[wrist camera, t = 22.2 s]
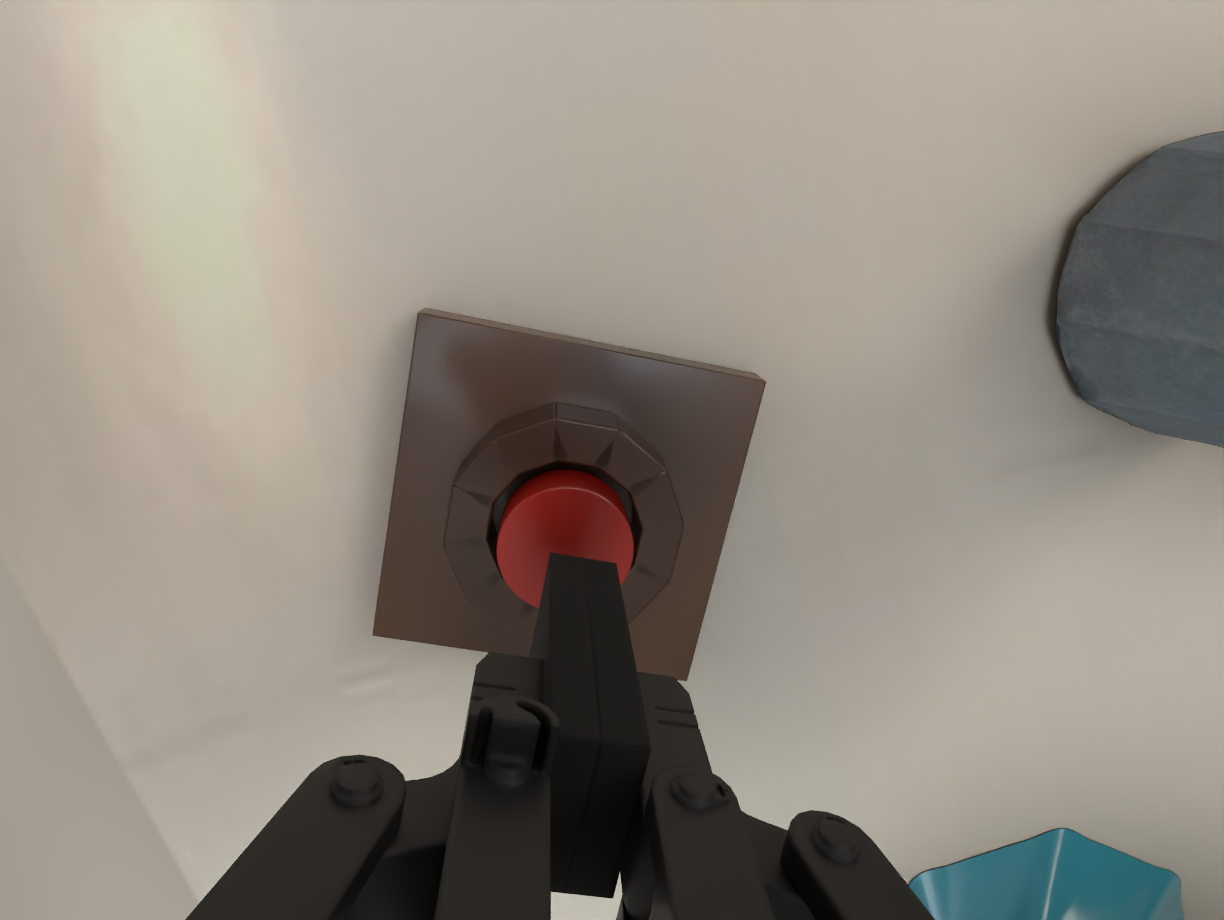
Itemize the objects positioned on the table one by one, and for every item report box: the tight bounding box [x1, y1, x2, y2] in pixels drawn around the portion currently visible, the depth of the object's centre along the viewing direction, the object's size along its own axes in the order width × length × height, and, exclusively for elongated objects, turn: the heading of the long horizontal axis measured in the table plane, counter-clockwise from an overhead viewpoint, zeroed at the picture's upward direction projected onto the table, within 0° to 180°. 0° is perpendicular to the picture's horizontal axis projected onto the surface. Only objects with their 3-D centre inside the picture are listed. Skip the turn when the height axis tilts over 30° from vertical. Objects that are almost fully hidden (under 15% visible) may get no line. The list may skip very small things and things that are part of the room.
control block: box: [373, 308, 766, 681], centre depth 23 cm, size 10×10×3 cm
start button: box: [496, 469, 634, 608], centre depth 22 cm, size 4×4×2 cm
